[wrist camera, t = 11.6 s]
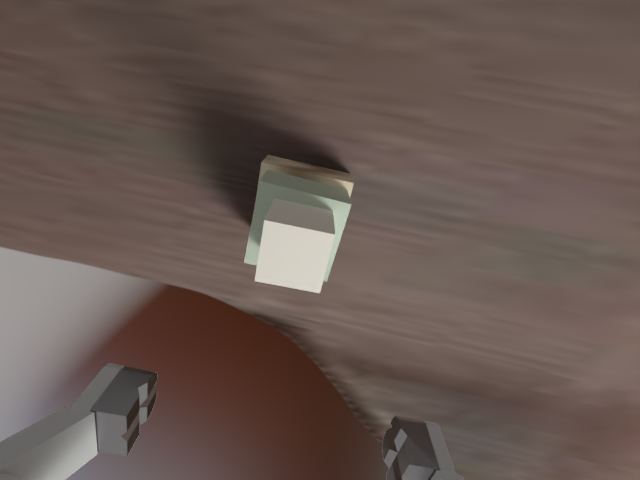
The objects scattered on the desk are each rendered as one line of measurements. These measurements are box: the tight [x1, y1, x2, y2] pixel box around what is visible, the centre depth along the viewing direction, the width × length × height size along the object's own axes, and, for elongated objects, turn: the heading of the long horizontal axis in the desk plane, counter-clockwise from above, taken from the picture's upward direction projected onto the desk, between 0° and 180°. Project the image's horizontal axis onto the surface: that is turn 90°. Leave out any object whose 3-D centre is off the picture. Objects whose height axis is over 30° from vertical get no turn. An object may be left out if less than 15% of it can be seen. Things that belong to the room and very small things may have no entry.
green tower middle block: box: [244, 169, 351, 282], centre depth 27 cm, size 7×7×4 cm
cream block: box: [255, 198, 335, 293], centre depth 23 cm, size 4×4×4 cm
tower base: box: [255, 155, 354, 202], centre depth 30 cm, size 8×8×4 cm
